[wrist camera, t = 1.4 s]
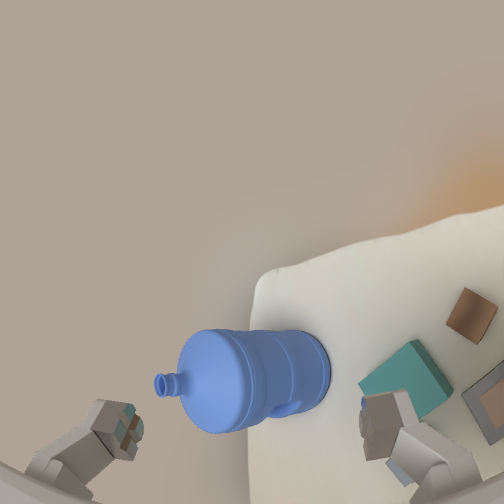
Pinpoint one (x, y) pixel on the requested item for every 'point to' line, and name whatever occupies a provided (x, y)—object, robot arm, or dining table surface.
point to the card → (488, 403)
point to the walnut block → (472, 315)
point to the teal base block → (410, 378)
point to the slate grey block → (399, 473)
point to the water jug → (246, 377)
